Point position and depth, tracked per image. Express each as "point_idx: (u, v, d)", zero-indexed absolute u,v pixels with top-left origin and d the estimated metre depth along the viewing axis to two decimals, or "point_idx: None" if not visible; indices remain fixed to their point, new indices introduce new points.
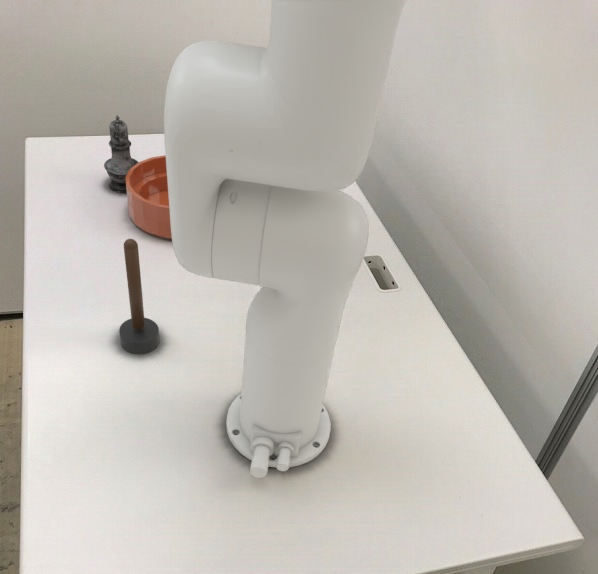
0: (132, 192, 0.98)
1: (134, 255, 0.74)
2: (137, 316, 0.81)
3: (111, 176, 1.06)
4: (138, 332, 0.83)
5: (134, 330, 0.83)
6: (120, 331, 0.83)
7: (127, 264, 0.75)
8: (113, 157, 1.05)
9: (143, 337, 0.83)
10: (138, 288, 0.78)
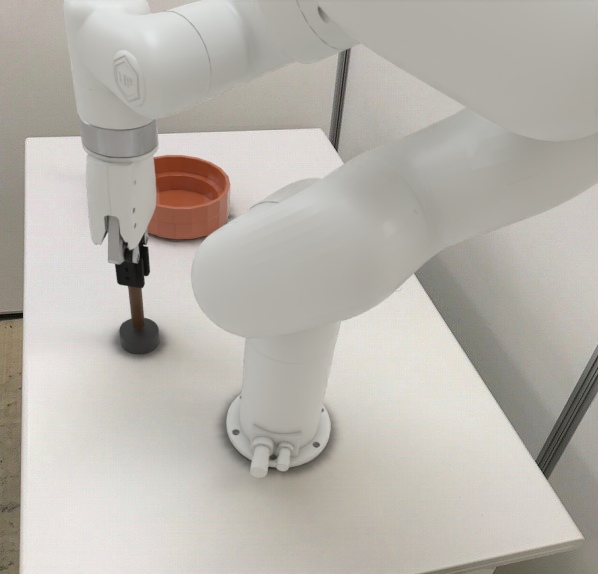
0: None
1: None
2: (137, 316, 0.81)
3: None
4: (138, 332, 0.83)
5: (134, 330, 0.83)
6: (120, 331, 0.83)
7: None
8: None
9: (143, 337, 0.83)
10: (138, 288, 0.78)
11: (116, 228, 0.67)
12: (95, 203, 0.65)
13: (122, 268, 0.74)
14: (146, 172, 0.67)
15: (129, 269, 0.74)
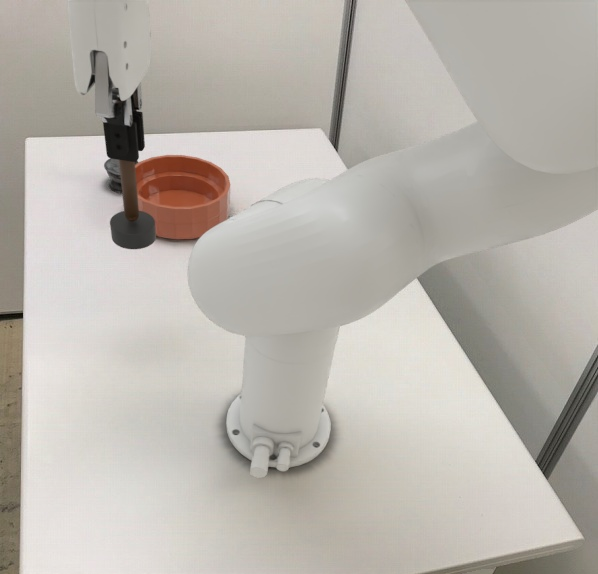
0: None
1: None
2: (130, 202, 0.71)
3: (111, 176, 1.06)
4: (131, 224, 0.73)
5: (127, 222, 0.73)
6: (111, 223, 0.73)
7: None
8: None
9: (137, 229, 0.72)
10: (131, 165, 0.68)
11: (104, 69, 0.56)
12: (79, 33, 0.54)
13: (113, 133, 0.63)
14: (139, 2, 0.56)
15: (120, 134, 0.63)
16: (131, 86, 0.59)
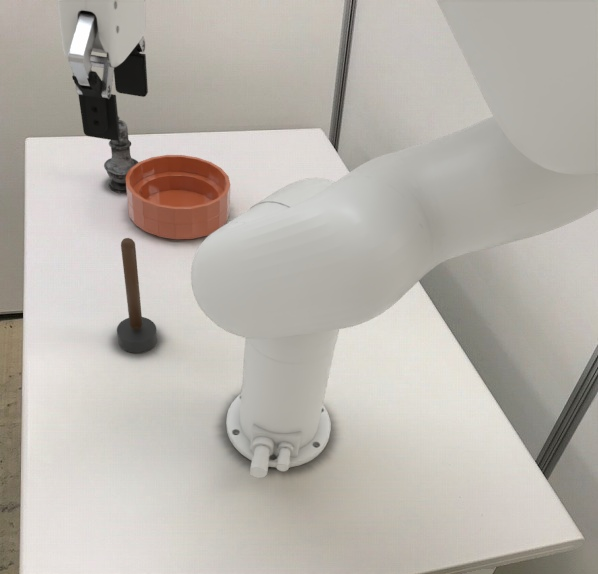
0: (132, 192, 0.98)
1: (131, 254, 0.74)
2: (134, 315, 0.81)
3: (111, 176, 1.06)
4: (136, 331, 0.83)
5: (132, 329, 0.83)
6: (118, 330, 0.83)
7: (124, 263, 0.75)
8: (113, 157, 1.05)
9: (141, 337, 0.83)
10: (136, 288, 0.78)
11: None
12: None
13: (89, 107, 0.56)
14: None
15: (98, 108, 0.56)
16: (122, 52, 0.55)
